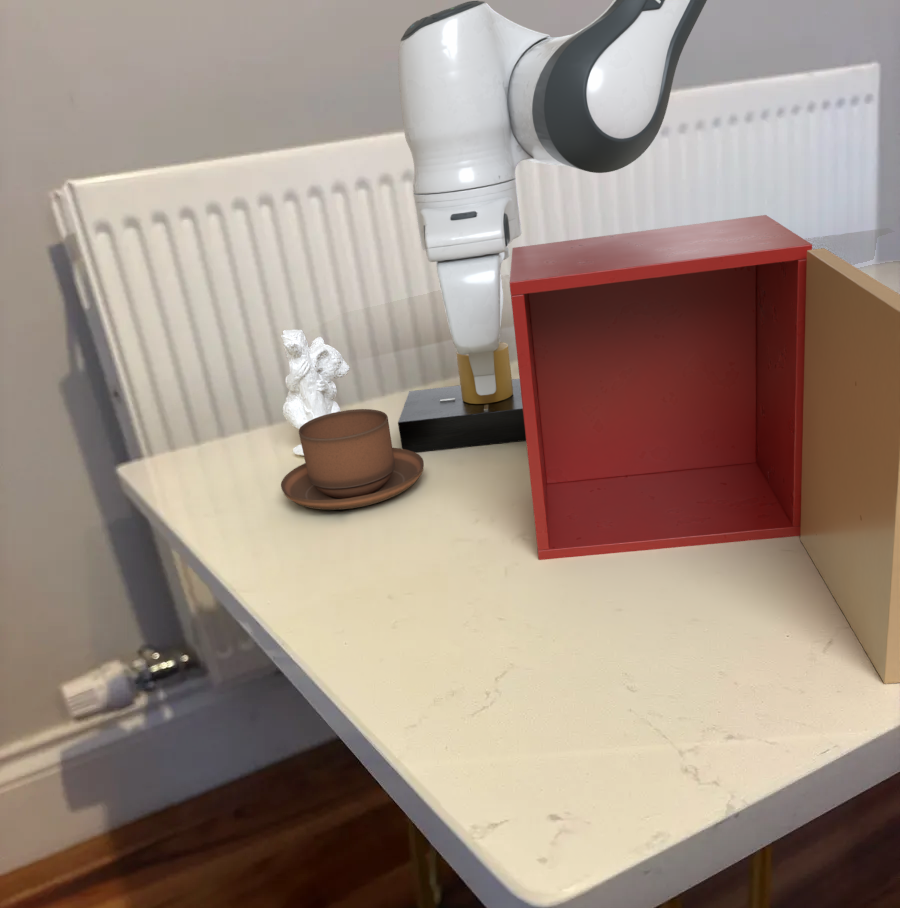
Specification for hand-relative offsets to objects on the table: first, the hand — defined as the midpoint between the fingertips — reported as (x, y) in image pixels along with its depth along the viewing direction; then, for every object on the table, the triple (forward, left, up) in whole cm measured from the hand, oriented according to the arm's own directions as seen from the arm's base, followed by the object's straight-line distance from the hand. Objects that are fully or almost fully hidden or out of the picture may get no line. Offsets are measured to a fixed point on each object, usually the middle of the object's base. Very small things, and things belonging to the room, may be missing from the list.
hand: (488, 378), depth 95 cm
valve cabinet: (-13, +24, -5) cm, 27 cm away
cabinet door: (-24, +40, -5) cm, 47 cm away
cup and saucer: (+11, +14, -5) cm, 18 cm away
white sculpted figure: (+16, +2, -5) cm, 17 cm away
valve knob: (0, 0, -2) cm, 2 cm away
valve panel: (+2, 0, -5) cm, 5 cm away
